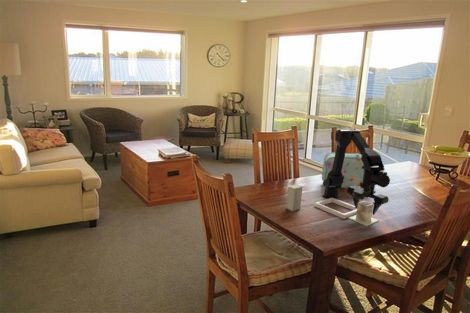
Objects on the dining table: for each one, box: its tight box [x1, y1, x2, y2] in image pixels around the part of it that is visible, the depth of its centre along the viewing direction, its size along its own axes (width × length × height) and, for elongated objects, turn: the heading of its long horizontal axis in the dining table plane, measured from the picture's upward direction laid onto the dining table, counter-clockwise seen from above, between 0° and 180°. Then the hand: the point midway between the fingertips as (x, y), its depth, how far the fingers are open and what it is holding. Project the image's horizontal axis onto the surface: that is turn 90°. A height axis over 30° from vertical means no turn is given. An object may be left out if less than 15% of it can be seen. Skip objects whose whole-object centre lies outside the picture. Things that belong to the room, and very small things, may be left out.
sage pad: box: [347, 215, 380, 227], centre depth 172 cm, size 10×10×1 cm
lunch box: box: [321, 152, 364, 189], centre depth 217 cm, size 27×10×21 cm, turn 89°
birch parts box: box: [356, 200, 374, 222], centre depth 171 cm, size 5×5×8 cm
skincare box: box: [286, 183, 303, 212], centre depth 181 cm, size 6×4×12 cm
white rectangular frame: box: [314, 198, 357, 220], centre depth 184 cm, size 18×14×2 cm
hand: (364, 211), depth 171 cm, fingers open, 9 cm apart
